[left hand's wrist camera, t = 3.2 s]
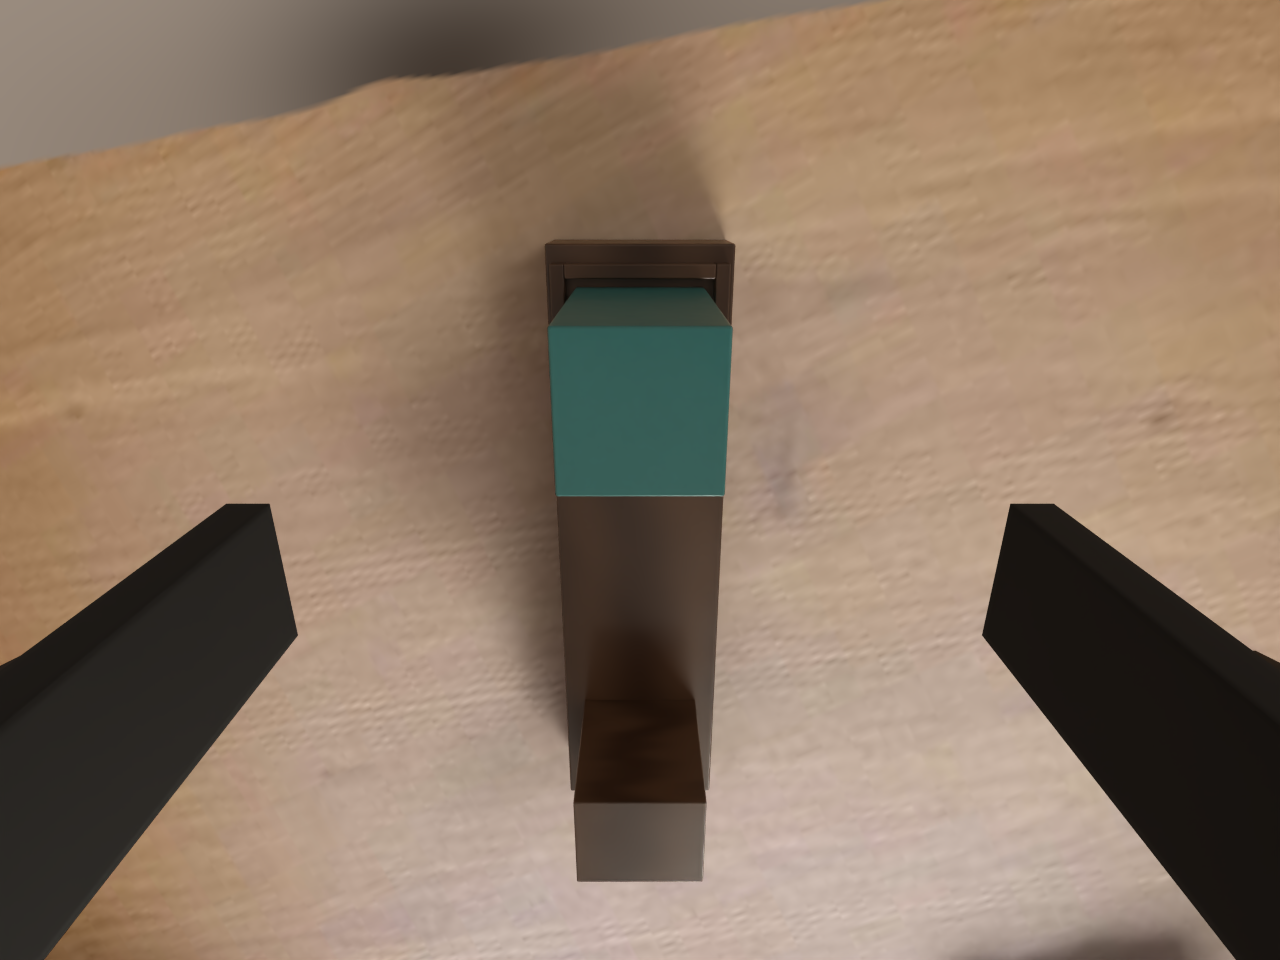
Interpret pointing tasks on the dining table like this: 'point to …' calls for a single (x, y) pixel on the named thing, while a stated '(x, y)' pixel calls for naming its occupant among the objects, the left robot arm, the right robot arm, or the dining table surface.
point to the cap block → (639, 392)
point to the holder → (639, 618)
